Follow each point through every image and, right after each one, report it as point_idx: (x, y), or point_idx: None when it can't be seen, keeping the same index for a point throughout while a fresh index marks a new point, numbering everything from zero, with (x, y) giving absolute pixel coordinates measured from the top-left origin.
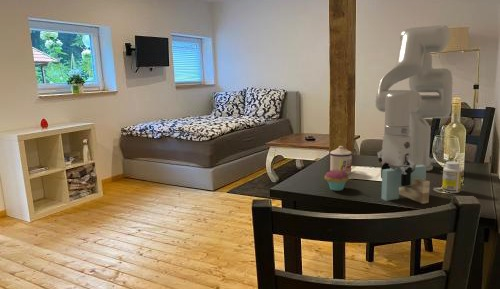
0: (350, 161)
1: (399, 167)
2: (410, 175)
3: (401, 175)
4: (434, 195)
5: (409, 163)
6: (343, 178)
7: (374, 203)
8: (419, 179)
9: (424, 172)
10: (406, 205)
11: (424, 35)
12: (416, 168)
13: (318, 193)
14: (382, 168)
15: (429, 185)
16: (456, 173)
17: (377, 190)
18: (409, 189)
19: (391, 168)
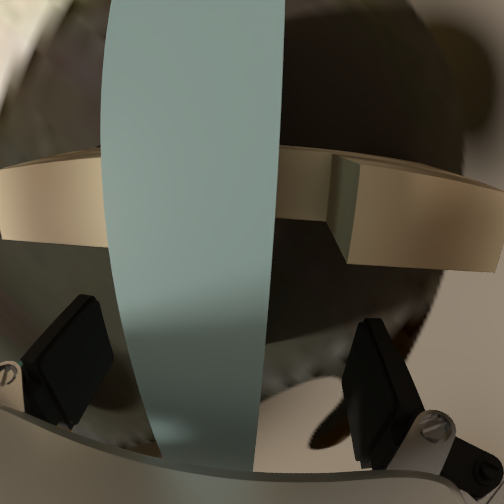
0: None
1: (141, 384)
2: (409, 385)
3: (359, 456)
4: (328, 5)
5: (379, 495)
6: (58, 425)
7: (265, 399)
8: (424, 220)
9: None
10: (376, 308)
11: None
12: (281, 98)
13: (96, 435)
14: (73, 419)
15: (488, 185)
16: None
17: (87, 257)
18: (299, 216)
19: (165, 459)
